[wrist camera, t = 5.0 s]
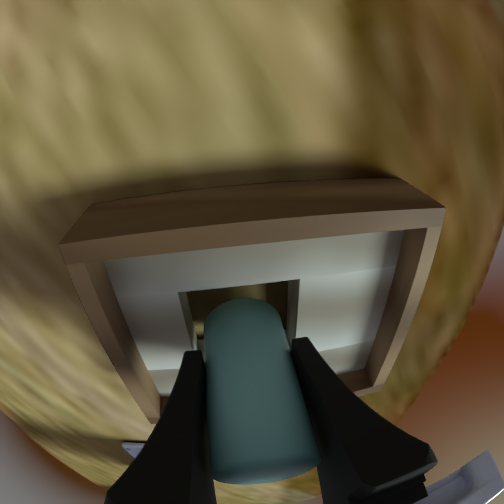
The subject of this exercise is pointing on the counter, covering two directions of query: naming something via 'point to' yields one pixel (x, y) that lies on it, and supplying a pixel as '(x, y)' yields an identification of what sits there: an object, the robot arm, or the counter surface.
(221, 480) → the peg
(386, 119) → the counter surface
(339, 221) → the box
